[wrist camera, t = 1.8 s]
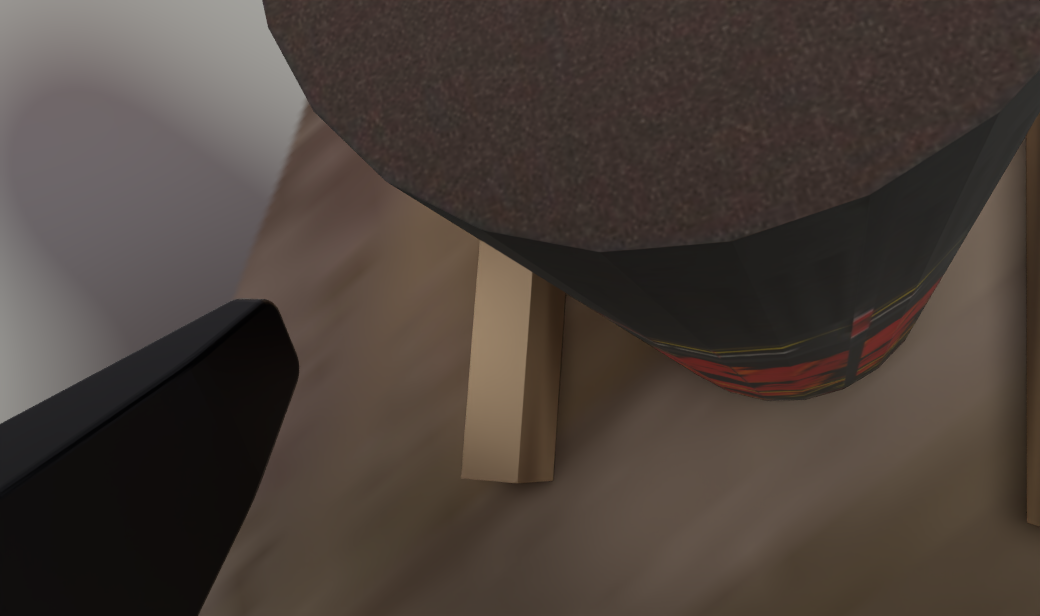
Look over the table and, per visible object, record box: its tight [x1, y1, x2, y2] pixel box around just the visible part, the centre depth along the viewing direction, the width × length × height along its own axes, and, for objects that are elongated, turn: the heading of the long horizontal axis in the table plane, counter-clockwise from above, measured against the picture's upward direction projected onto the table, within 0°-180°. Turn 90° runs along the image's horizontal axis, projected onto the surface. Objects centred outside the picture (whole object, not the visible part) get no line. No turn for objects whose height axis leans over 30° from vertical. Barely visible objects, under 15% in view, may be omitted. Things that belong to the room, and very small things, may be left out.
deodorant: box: [263, 0, 1040, 401], centre depth 13 cm, size 6×6×15 cm
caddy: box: [461, 113, 1040, 527], centre depth 19 cm, size 11×12×2 cm
